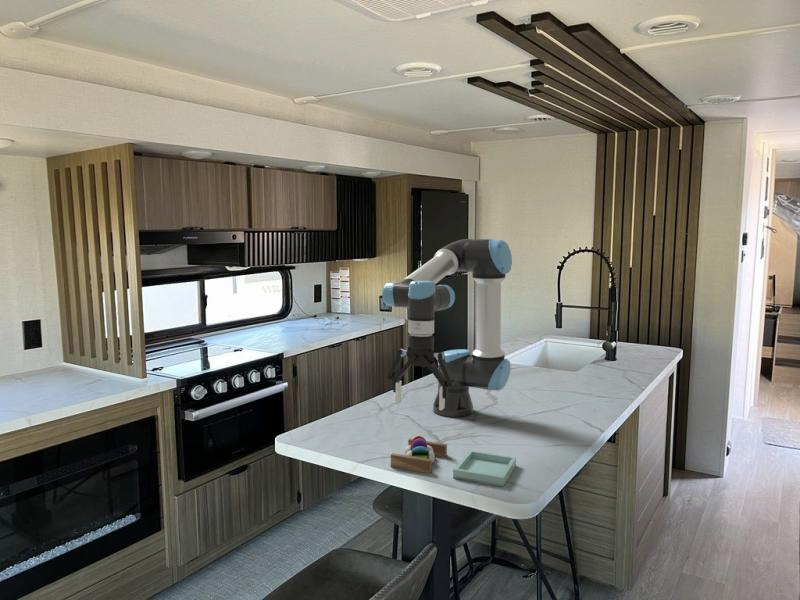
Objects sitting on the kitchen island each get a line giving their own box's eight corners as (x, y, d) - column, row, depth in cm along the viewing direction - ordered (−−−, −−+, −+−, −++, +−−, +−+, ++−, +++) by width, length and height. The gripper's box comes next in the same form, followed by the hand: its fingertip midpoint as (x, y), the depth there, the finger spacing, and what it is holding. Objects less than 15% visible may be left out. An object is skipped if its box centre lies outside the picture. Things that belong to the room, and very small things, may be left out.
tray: (469, 458, 181) (469, 450, 181) (516, 465, 176) (516, 457, 175) (453, 478, 166) (453, 469, 166) (503, 486, 161) (503, 477, 161)
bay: (410, 449, 188) (410, 438, 188) (446, 455, 183) (446, 444, 183) (390, 466, 174) (390, 454, 174) (429, 473, 170) (429, 461, 169)
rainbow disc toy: (432, 455, 184) (432, 431, 183) (435, 467, 174) (435, 443, 173) (404, 455, 183) (404, 432, 182) (405, 467, 174) (406, 443, 173)
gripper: (376, 332, 176) (375, 404, 178) (458, 339, 166) (456, 414, 168) (386, 329, 183) (386, 397, 185) (466, 335, 173) (464, 407, 175)
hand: (419, 406), depth 177 cm, fingers open, 13 cm apart
